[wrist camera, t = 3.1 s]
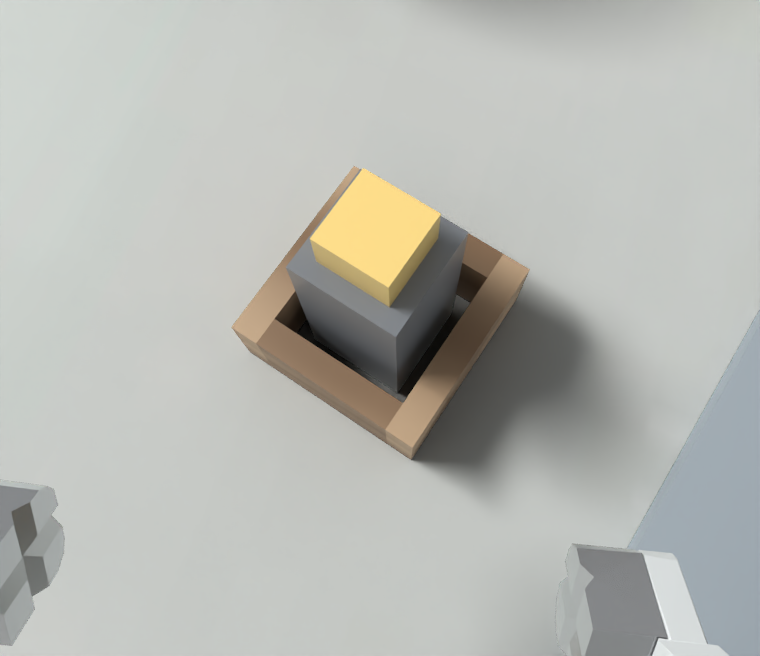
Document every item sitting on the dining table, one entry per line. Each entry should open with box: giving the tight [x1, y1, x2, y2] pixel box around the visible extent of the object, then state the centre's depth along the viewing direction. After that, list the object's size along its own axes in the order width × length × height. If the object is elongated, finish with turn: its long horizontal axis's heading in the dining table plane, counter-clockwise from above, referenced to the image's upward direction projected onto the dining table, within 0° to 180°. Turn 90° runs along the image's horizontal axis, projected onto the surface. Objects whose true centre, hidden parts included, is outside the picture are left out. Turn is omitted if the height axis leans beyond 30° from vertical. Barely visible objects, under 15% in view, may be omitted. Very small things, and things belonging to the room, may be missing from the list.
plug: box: [286, 168, 468, 393], centre depth 23 cm, size 4×4×8 cm
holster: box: [232, 166, 530, 460], centre depth 25 cm, size 7×7×3 cm
